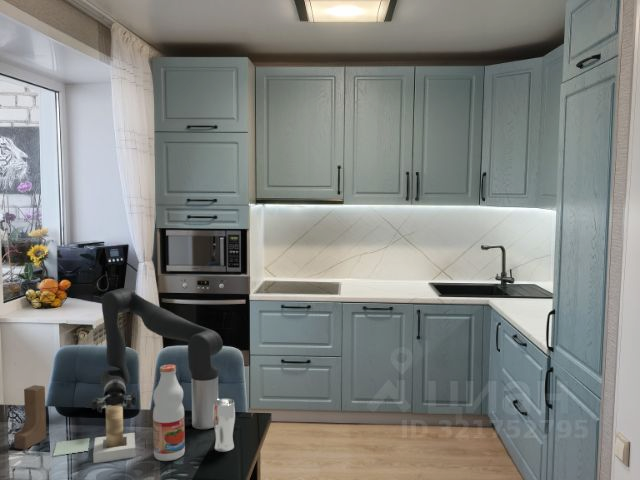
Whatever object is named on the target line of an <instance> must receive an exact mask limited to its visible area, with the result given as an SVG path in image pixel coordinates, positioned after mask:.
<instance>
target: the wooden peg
mask: <svg viewBox="0 0 640 480" xmlns="http://www.w3.org/2000/svg"><path fill="white" fill-rule="evenodd" d="M123 407H124V406H121V405H119V406H109V407H107V408H105V436H106V448H112V447H119V446H123V434H124V409H123Z"/></svg>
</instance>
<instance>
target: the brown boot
mask: <svg viewBox="0 0 640 480" xmlns="http://www.w3.org/2000/svg"><path fill="white" fill-rule="evenodd" d="M23 394H24V395H23V396H24V397H23V399H24V423H23V426H22V428H21V429H20V431H19V430H18V432H16V433H15V434H14V435H13V443H14V444H13V445H14V449H18V450H22V451H23V450H24V451H25V450H27V449H29V448H31V447H33V446H35V445H37V444H39V443H42V442H43V441H44V440H46V439H47V419H46V418H47V415H46V414H47V413H46V388H45V386H44V385H35V384H34V385H31V386H29V387H25V388H24V389H23Z"/></svg>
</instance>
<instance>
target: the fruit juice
mask: <svg viewBox="0 0 640 480" xmlns="http://www.w3.org/2000/svg"><path fill="white" fill-rule="evenodd" d="M176 372H177V366H176V365H175V364H164V365H161V366H159V373H160V379H159V381H158V384H157V386H156V387H155V388H154V390H153V395H152V398H153V403H154V407H153V409H152V427H153V428H152V429H153V431H152V432H153V433H152V434H153V439H152V440H153V441H152V442H153V456H154V458H155V459H156V460H158V461H161V462H169V461H174V460H178V459H180V458H181V457H183V456H184V454H185V450H186V445H185V444H186V442H185V441H186V439H185V437H186V436H185V435H186V434H185V433H186V431H185V408H184V404H183V400H184V390H183V387H182V385H180V383H179V381H178V377H177V375H176Z"/></svg>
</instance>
